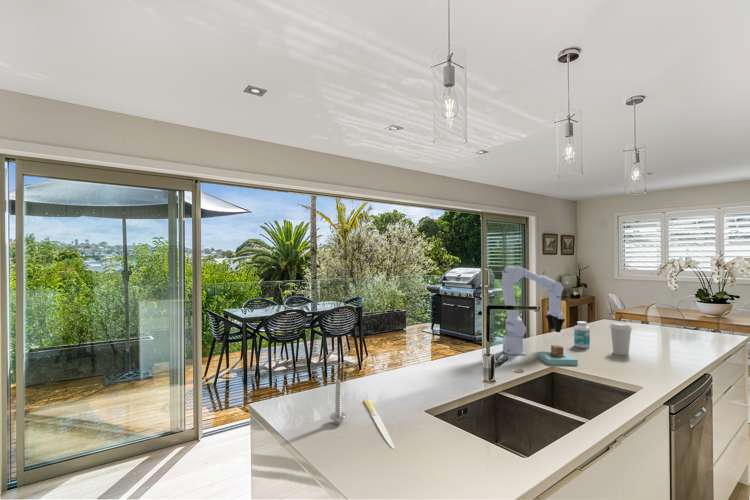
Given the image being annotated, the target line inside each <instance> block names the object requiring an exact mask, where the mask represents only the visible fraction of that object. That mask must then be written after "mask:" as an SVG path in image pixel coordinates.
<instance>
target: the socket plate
mask: <svg viewBox="0 0 750 500" xmlns="http://www.w3.org/2000/svg"><path fill="white" fill-rule="evenodd" d="M537 358H539V359H540V360H541V361H542V362H544V363H545V364H546V365H550V366H578V360H579V359H578V358H575V357H574V356H572V355H570V354H568V353H567V352H565V351H563V357H552V356H551V351H537Z"/></svg>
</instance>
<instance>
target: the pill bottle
mask: <svg viewBox="0 0 750 500" xmlns="http://www.w3.org/2000/svg"><path fill="white" fill-rule="evenodd" d="M576 323H577V325H574V328H573V331H574V332H573V345H574V346H575V347H576V348H580V349H589V348H590V347H591V346H590V345H591V344H590V339H591V337H590V336H591V335H590V334H591V329H590V327H589V326H588V322H587V321H583V320H580V321H576Z"/></svg>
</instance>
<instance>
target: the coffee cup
mask: <svg viewBox="0 0 750 500" xmlns="http://www.w3.org/2000/svg"><path fill="white" fill-rule="evenodd" d="M609 328H610V332H611V341H612V352H613V354H614V355H619V356H629V353H630V345H631V344H630V343H631V335H632V334H631V333H632V330H633V327H632V326H631V324H630V323H627V322H611V324H610V325H609Z"/></svg>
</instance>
